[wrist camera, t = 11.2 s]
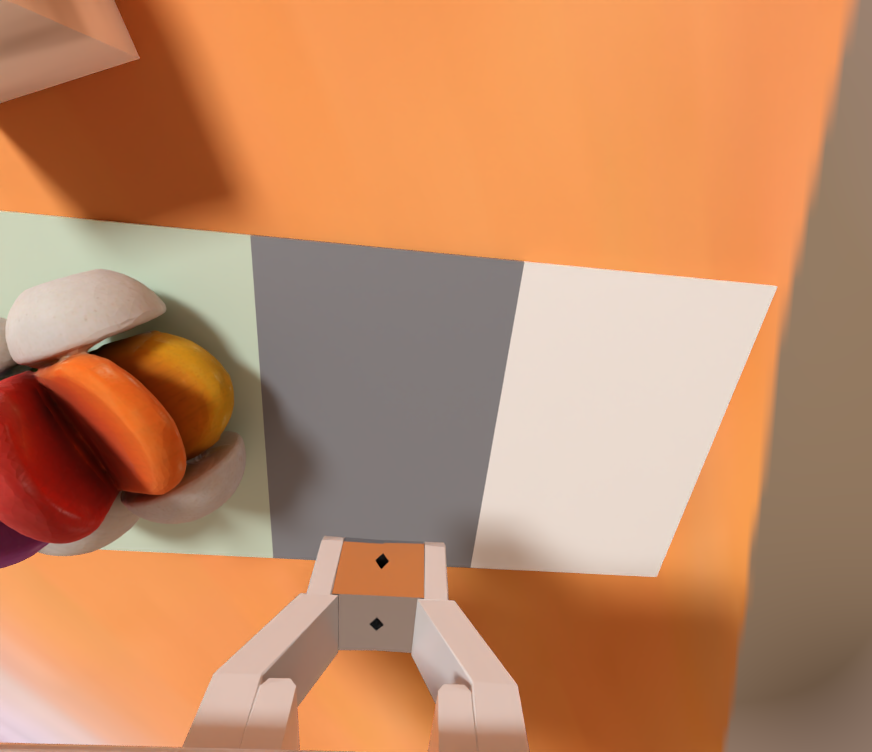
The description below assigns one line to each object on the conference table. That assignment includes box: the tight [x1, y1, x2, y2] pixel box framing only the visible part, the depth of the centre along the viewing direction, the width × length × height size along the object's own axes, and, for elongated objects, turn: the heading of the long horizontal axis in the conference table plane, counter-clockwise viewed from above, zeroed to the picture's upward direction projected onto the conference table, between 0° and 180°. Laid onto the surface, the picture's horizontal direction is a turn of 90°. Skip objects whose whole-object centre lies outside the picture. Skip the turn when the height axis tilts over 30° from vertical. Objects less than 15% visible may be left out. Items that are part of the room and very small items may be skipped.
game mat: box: [0, 211, 777, 577], centre depth 17 cm, size 14×27×1 cm, turn 84°
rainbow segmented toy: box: [0, 269, 246, 568], centre depth 13 cm, size 8×10×7 cm
